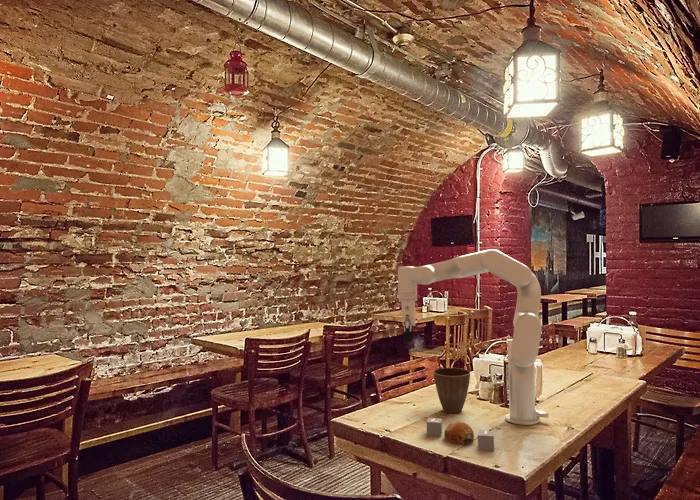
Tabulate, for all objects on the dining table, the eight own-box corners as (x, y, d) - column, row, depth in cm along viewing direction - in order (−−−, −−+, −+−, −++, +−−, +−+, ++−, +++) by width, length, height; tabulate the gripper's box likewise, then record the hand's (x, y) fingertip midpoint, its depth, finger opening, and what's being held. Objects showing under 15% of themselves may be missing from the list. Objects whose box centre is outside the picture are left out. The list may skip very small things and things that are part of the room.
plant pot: (471, 417, 208) (470, 376, 208) (433, 415, 211) (432, 375, 211) (470, 406, 223) (469, 368, 223) (434, 405, 226) (434, 367, 226)
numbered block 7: (442, 432, 191) (442, 418, 191) (441, 437, 186) (440, 422, 186) (428, 431, 192) (428, 417, 192) (426, 436, 187) (426, 421, 187)
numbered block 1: (494, 446, 177) (493, 430, 177) (494, 451, 172) (493, 435, 172) (478, 445, 178) (478, 429, 178) (478, 450, 173) (477, 434, 173)
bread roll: (471, 446, 186) (468, 423, 190) (478, 443, 177) (475, 418, 181) (443, 447, 186) (441, 423, 189) (449, 444, 177) (446, 419, 180)
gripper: (416, 298, 204) (417, 343, 204) (417, 295, 221) (418, 336, 221) (396, 298, 205) (397, 343, 205) (399, 295, 222) (400, 336, 222)
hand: (408, 339), depth 213 cm, fingers open, 9 cm apart
